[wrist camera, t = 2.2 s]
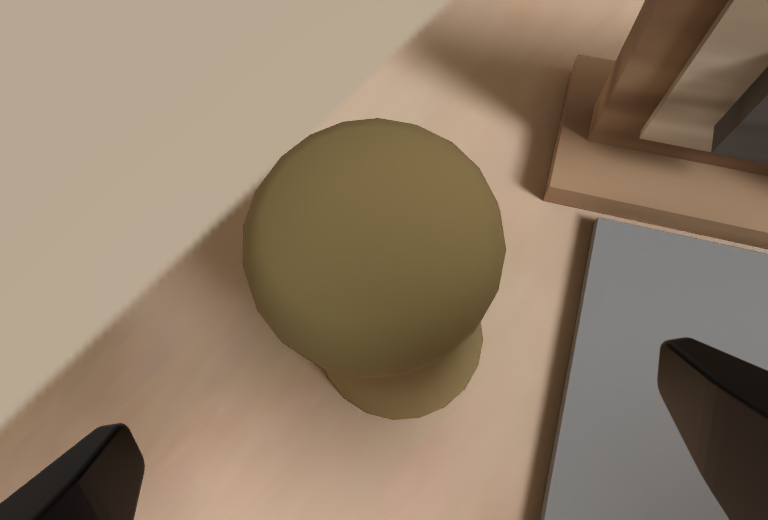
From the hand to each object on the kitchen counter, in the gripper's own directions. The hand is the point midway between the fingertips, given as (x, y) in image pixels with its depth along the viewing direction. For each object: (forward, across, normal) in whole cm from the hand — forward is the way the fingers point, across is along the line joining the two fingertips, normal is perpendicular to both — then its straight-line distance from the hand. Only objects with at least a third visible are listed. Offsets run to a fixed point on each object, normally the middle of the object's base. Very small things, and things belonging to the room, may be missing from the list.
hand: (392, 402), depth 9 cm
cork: (+10, 0, +5) cm, 11 cm away
